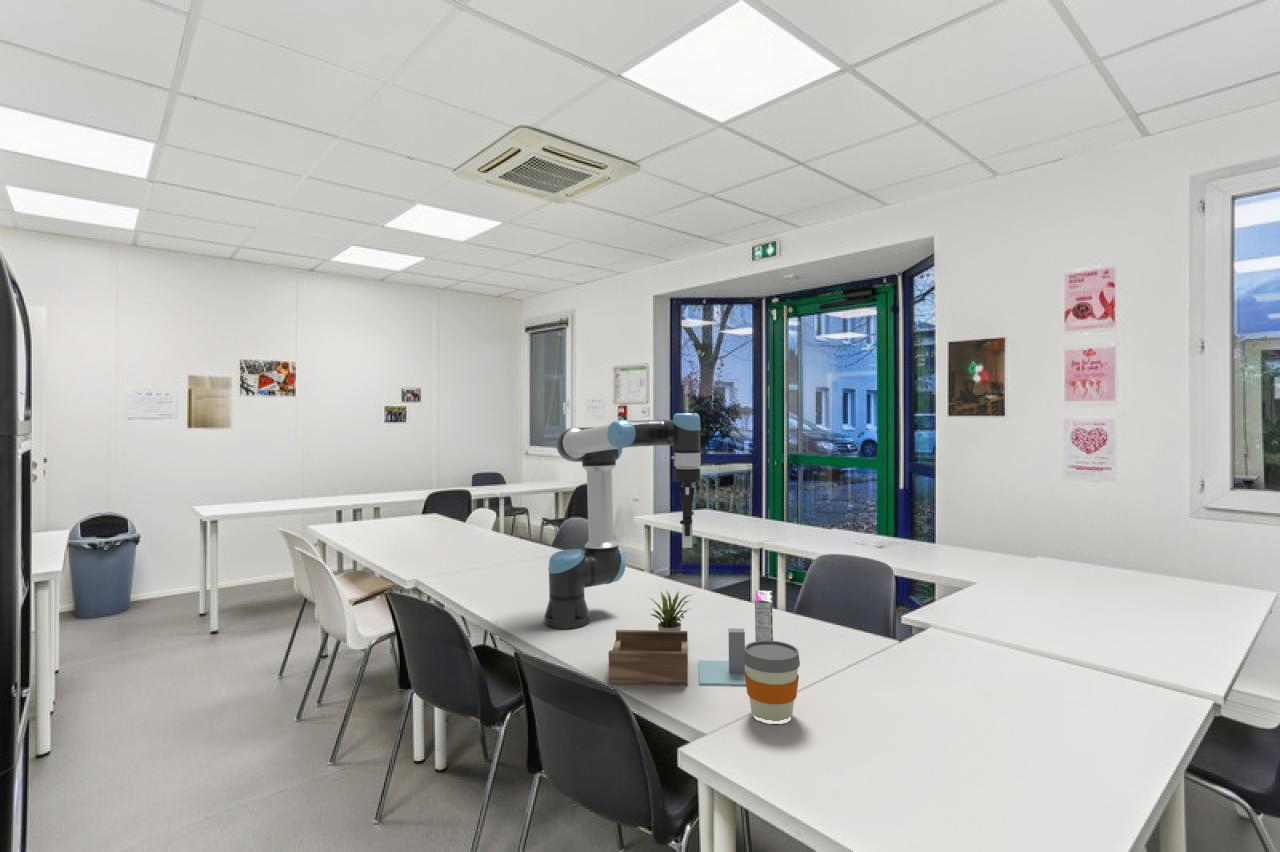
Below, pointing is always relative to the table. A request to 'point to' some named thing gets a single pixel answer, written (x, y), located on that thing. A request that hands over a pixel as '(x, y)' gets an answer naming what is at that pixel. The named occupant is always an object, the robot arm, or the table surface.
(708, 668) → the cover plate
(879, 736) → the table surface
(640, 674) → the walnut box
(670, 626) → the house plant
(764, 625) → the candy bar box
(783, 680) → the reusable coffee cup
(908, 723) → the table surface
